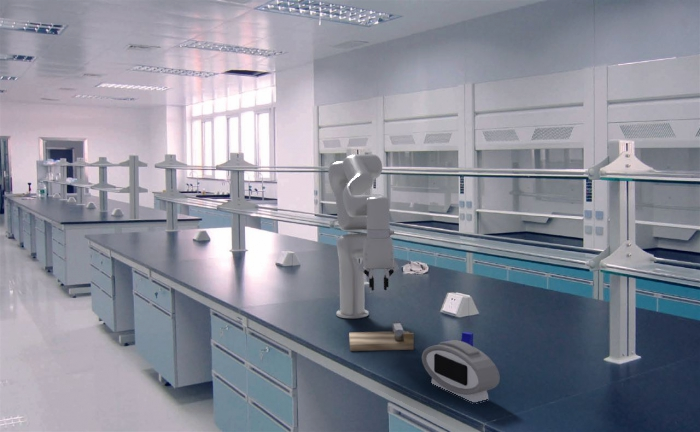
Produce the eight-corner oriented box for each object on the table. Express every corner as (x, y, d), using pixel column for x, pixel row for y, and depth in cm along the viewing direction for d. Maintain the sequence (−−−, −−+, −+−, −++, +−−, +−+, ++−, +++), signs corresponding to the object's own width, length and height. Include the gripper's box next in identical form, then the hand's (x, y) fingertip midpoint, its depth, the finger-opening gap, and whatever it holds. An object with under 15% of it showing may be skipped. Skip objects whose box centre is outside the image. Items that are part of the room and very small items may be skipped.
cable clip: (457, 363, 181) (457, 343, 180) (444, 360, 184) (444, 340, 183) (477, 353, 190) (477, 334, 190) (464, 350, 193) (464, 331, 192)
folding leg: (405, 341, 195) (405, 331, 195) (395, 341, 195) (395, 332, 195) (401, 330, 208) (401, 321, 208) (391, 330, 208) (391, 321, 208)
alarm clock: (421, 380, 166) (421, 334, 165) (439, 376, 169) (439, 330, 168) (480, 409, 146) (480, 356, 145) (499, 404, 150) (500, 352, 149)
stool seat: (349, 338, 208) (349, 323, 207) (408, 337, 208) (408, 322, 208) (350, 350, 194) (350, 335, 193) (413, 349, 194) (413, 333, 194)
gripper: (402, 232, 206) (402, 286, 207) (352, 233, 206) (353, 287, 207) (404, 235, 198) (405, 291, 200) (353, 236, 198) (354, 292, 200)
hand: (378, 289), depth 204 cm, fingers open, 3 cm apart
